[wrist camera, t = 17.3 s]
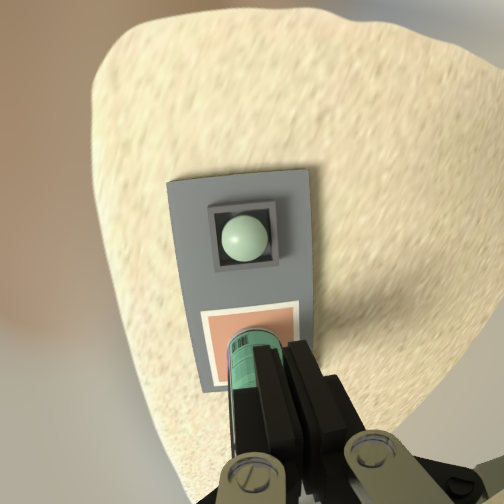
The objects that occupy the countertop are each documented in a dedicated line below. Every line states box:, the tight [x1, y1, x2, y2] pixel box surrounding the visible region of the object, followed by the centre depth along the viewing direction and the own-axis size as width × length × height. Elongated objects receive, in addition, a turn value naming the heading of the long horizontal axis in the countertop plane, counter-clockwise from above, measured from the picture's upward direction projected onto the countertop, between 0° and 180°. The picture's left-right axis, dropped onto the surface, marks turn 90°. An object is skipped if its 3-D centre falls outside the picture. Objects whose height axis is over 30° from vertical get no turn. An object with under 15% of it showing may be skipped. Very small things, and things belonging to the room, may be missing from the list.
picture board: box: [166, 169, 313, 393], centre depth 29 cm, size 22×12×3 cm, turn 5°
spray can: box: [227, 326, 321, 504], centre depth 21 cm, size 6×6×20 cm
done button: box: [222, 214, 268, 261], centre depth 26 cm, size 4×4×2 cm
